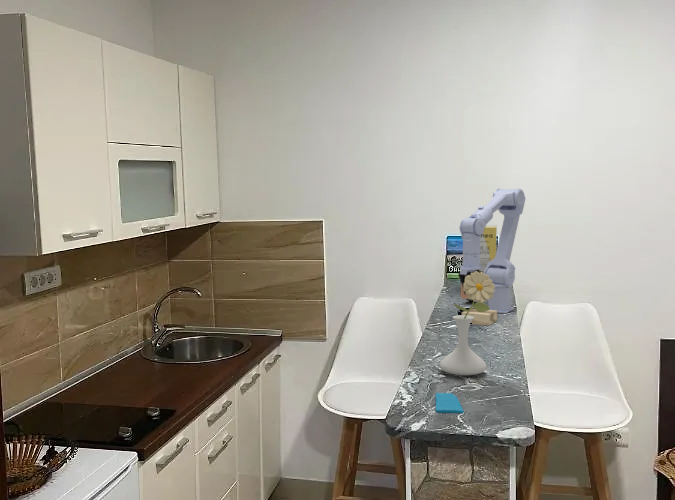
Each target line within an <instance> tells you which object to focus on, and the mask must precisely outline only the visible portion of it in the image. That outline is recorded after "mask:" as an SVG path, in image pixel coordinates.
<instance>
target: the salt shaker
mask: <svg viewBox="0 0 675 500" xmlns="http://www.w3.org/2000/svg"><path fill="white" fill-rule="evenodd" d="M465 300H466V301H465V302H464V303H463V304H464V305H466V306H467V305H468V306H471V305H472V303H473V300H472V299H465ZM476 303H478V301H475V302H474V304H476Z"/></svg>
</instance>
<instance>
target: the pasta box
mask: <svg viewBox="0 0 675 500" xmlns="http://www.w3.org/2000/svg"><path fill="white" fill-rule="evenodd" d="M497 226H498V225H497V224H486V226H485V228H484V232H483V234H481V235H480V265H482V270H479V271H483V272H484V271H485V269H486V267H487V265H488V262H490V261H491V260H493V259H494V258H495V256H496V251H497V236H498V235H497V233H498V231H497V230H498V229H497Z"/></svg>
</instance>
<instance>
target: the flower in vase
mask: <svg viewBox="0 0 675 500" xmlns="http://www.w3.org/2000/svg"><path fill="white" fill-rule="evenodd" d="M489 278H490V277H489V276H488V275H487V274H484V273H483V272H480V273H479V272H477V271H475V272H474V273H471V276H470V275H468V276H466V277H465V283H464V286H463V287H464V288H463V290H464V291H465V293H466V295H468V298H469V299H472V300H473V303H472V305H470V307H469V308H468V309H467V308H465V307H464V306H461V305H458V304H456V303H455V302H453V304H454V307H455V308H456V309H458V310H461V311H462V312H464V311H466V312H467V310H468V312H467V313H466V315H462V314H461V315H460V314H459V315H454V316H452V318H453V320H454V322H455V323H456V327H457V333H458V342H457V346H456V347H455V348H454V350H453V351H451V352H450V353H449V354H447V355H446V356H445V357H443V358H442V359H441V360H440V362H439V364H438V366H439V368H440V370H442V371H444V372H445V373H448V374H452V375H456V376H475V375H478V374H481V373H484V372H485V371H486V370H487V368H488V366H487V363H486V362H485V361H484V360H483V359H482V357H480V356H478V354H476V353H475V352H474V351H473V350H472V349H471V348H470V346H469V339H468V338H469V330H470V329H469V328H470V325H471V324H470V323H471V321H472V320H473V319H474V317H473V316H468V315H467V314H468V313H469V311H470V310H471V308H475V309H476V310H477V311H478V312H485V311H488V310H490V308H489V307H488V304H486V303H485V302H486V301H488V300H489V299H490V298H493V293H494V292H495V290H494V289H495V286H494V284H493V283H492V280H491V279H489ZM474 302H477V303H476V304H474Z"/></svg>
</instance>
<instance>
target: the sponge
mask: <svg viewBox="0 0 675 500" xmlns="http://www.w3.org/2000/svg"><path fill="white" fill-rule="evenodd" d="M434 398H435V413H437V414H440V413H442V414H443V413H444V414H463V413H465V409H464V408H463V407H462V404H461V402H460V401H459V399H458V396H456V395H455V394H454V393H451V392H436V393H435V397H434Z"/></svg>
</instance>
